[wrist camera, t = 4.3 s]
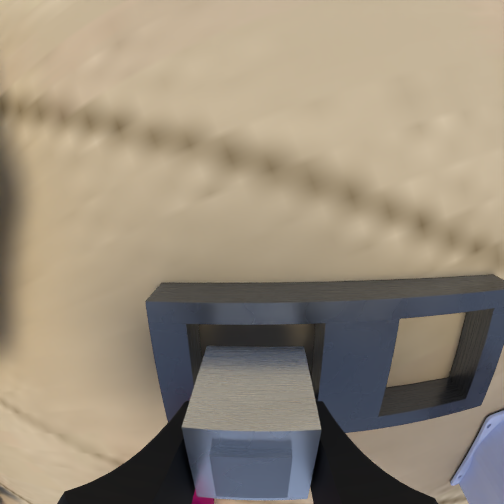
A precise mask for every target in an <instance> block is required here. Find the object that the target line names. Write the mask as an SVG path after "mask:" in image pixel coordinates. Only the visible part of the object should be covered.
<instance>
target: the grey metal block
mask: <svg viewBox="0 0 504 504" xmlns="http://www.w3.org/2000/svg"><path fill="white" fill-rule="evenodd" d="M182 431H183V436H184V441H185V446H186V451H187V455H188V460H189V464H190V469H191V473H192V477H193V481H194V485H195V489H196V493H197V497H206V498H218V499H235V500H294V499H307V498H308V494H309V489H310V485H311V480H312V476H313V471H314V466H315V461H316V456H317V451H318V446H319V440H320V435H321V425H320V420H319V415H318V410H317V405H316V401H315V396H314V391H313V386H312V382H311V377H310V372H309V368H308V363H307V359H306V354H305V350H304V346H279V347H254V346H210V345H207V347H206V350H205V353H204V357H203V360H202V363H201V366H200V369H199V373H198V376H197V379H196V382H195V385H194V389H193V392H192V395H191V398H190V402H189V405H188V408H187V411H186V415H185V418H184V421H183V424H182Z"/></svg>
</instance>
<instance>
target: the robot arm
mask: <svg viewBox="0 0 504 504" xmlns="http://www.w3.org/2000/svg"><path fill="white" fill-rule="evenodd" d="M189 402H190V401H185V402H184V403H183V405H182V406H181V407H180V409H179V410H178V411H177V413H176V414H175V415H174V416H173V418H172V419H171V420H170V421H169V422H168V423H167V425H166V426H165V427H164V428H163V429H162V430H161V431H160V432H159V433H158V435H157V436H156V437H155V438H154V439H153V440H151V441H150V442H149V443H148V444H147V445H146V446H145V447H144V448H143V449H142V450H141V451H140V452H138V453H137V454H136V455H135V456H133V457H132V458H131V459H130V460H128V461H127V462H125V463H124V464H122V465H121V466H119V467H118V468H116V469H115V470H113V471H112V472H110V473H108V474H106V475H104V476H102V477H100V478H98V479H96V480H94V481H92V482H90V483H88V484H85V485H83V486H80V487H77V488H74V489H71V490H68V491H65V492H64V494H63V495H62V497H61V498H60V500H59V502H58V503H57V504H192V500H193V496H194V492H195V485H194V481H193V477H192V473H191V469H190V464H189V460H188V455H187V451H186V446H185V441H184V436H183V431H182V424H183V421H184V418H185V415H186V411H187V408H188V405H189ZM316 405H317V410H318V415H319V420H320V425H321V435H320V440H319V446H318V451H317V456H316V461H315V466H314V471H313V476H312V480H311V485H310V487H311V492H312V497H313V502H314V504H438V503H437V501H436V499H435V498H433V497H430V496H428V495H426V494H423V493H421V492H419V491H416V490H414V489H412V488H410V487H408V486H406V485H405V484H403V483H401V482H400V481H398V480H397V479H395V478H393V477H392V476H390V475H389V474H387V473H386V472H385V471H383V470H382V469H381V468H379V467H378V466H377V465H376V464H374V463H373V462H372V461H371V460H370V459H369V458H368V457H367V456H366V455H364V454H363V453H362V452H361V451H360V450H359V448H358V447H357V446H356V445H355V444H354V443H353V442H352V441H351V440H350V439H349V437H348V436H347V435H346V434H345V432H344V431H343V430H342V429H341V427H340V426H339V425H338V423H337V422H336V421H335V419H334V418H333V416H332V415H331V413H330V412H329V410H328V409H327V407H326V405H325V404H324V402H322V401H316ZM450 483H451V485H452V486H453V485H456V484H459V485H460V487H461V489H462V491H463V493H464V495H465V497H466V499H467V501H468V503H469V504H504V410H503V411H501V412H498V413H495V414H492V415H490V416H488V417H487V418H486V420H485V422H484V424H483V426H482V428H481V430H480V432H479V434H478V436H477V438H476V440H475V441H474V443H473V445H472V447H471V449H470V451H469V452H468V454H467V456H466V458H465V459H464V461H463V463H462V464H461V466H460V468H459V469H458V471H457V473H456V474H455V476H454V477H453V479H452V480H451V482H450Z"/></svg>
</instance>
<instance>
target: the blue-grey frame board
mask: <svg viewBox="0 0 504 504" xmlns="http://www.w3.org/2000/svg"><path fill="white" fill-rule="evenodd" d="M145 302H146V309H147V316H148V323H149V329H150V335H151V341H152V347H153V353H154V358H155V364H156V369H157V374H158V379H159V384H160V389H161V394H162V398H163V403H164V407H165V412H166V416H167V420H168V422H169V421H170V420H171V419H172V418H173V416H174V415H175V414H176V413H177V411H178V410H179V409H180V407H181V406H182V405H183V403H184V402H185V401H190V398H191V395H192V392H193V389H194V385H195V382H196V379H197V376H198V373H199V369H200V366H201V363H202V353H201V343H200V333H199V324H223V325H271V324H314V323H315V338H314V351H313V364H312V375H311V382H312V386H313V391H314V396H315V401H322V402H324V404H325V405H326V407H327V409H328V410H329V412H330V413H331V415H332V416H333V418H334V419H335V421H336V422H337V423H338V425H339V426H340V427H341V429H342V430H343V431H344V432H345V433H349V432H357V431H365V430H372V429H379V428H385V427H392V426H397V425H403V424H408V423H413V422H418V421H423V420H427V419H432V418H436V417H440V416H444V415H448V414H452V413H456V412H460V411H463V410H467V409H470V408H474V407H477V406H480V405H481V404H482V402H483V400H484V397H485V395H486V392H487V390H488V387H489V385H490V382H491V380H492V377H493V374H494V372H495V369H496V366H497V363H498V360H499V357H500V354H501V351H502V348H503V345H504V280H503V279H501V278H499V277H497V276H495V275H479V276H463V277H445V278H425V279H402V280H376V281H344V282H301V283H161V284H160V285H159V286H158V288H157V289H156V290H155V291H154V292H153V293H152V294H151V296H150V297H149V298H148V299H147V300H146V301H145ZM461 312H466V317H465V321H464V326H463V330H462V334H461V338H460V341H459V345H458V349H457V353H456V356H455V359H454V363H453V366H452V369H451V373H450V376H449V378H444V379H439V380H433V381H428V382H422V383H416V384H410V385H404V386H397V387H390V388H386V384H387V380H388V376H389V371H390V367H391V362H392V357H393V352H394V347H395V342H396V337H397V331H398V325H399V319H401V318H413V317H424V316H434V315H443V314H452V313H461Z"/></svg>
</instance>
